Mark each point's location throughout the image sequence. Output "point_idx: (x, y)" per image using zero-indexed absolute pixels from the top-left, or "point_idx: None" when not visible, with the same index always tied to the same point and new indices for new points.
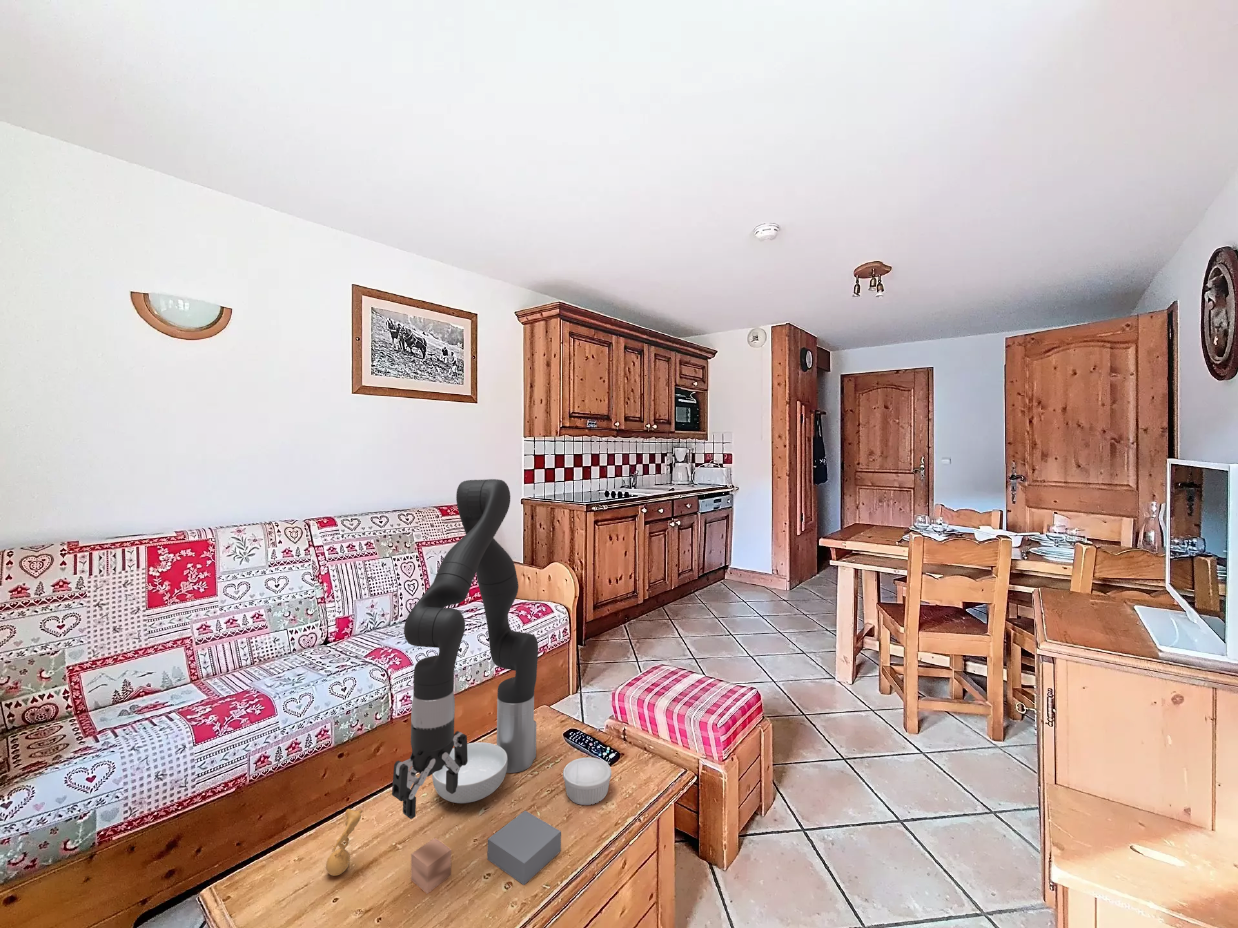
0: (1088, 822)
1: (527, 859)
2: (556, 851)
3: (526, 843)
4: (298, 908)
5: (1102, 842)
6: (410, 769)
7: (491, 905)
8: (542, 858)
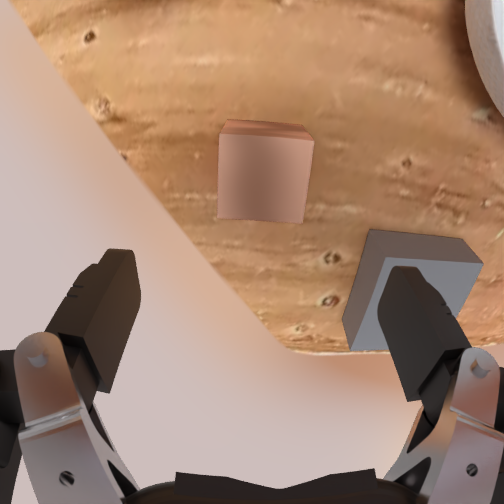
0: None
1: (360, 348)
2: None
3: None
4: (43, 12)
5: None
6: (37, 496)
7: (279, 306)
8: None
